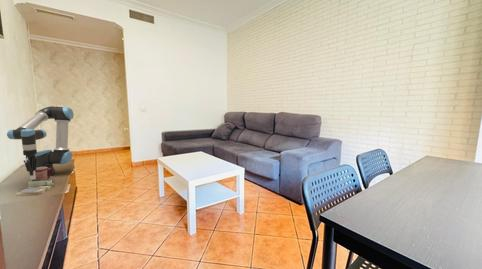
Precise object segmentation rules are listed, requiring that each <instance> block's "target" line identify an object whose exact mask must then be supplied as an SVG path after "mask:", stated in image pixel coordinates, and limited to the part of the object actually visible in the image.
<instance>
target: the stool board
mask: <svg viewBox="0 0 482 269" xmlns="http://www.w3.org/2000/svg"><path fill="white" fill-rule="evenodd" d="M31 180H32V181H40V180H39V179H31ZM31 187H40V188H41V189H40V190H38V191H34V192H30V193H21V192H20V191H18V192H16V193H15V194H16V197H24V196H27V197H28V196H40V195H42V194H43V193H45V192H47V191H49V190H50V189H52V188H54V187H55V183H52V185H41V186H27V188H31Z"/></svg>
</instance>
